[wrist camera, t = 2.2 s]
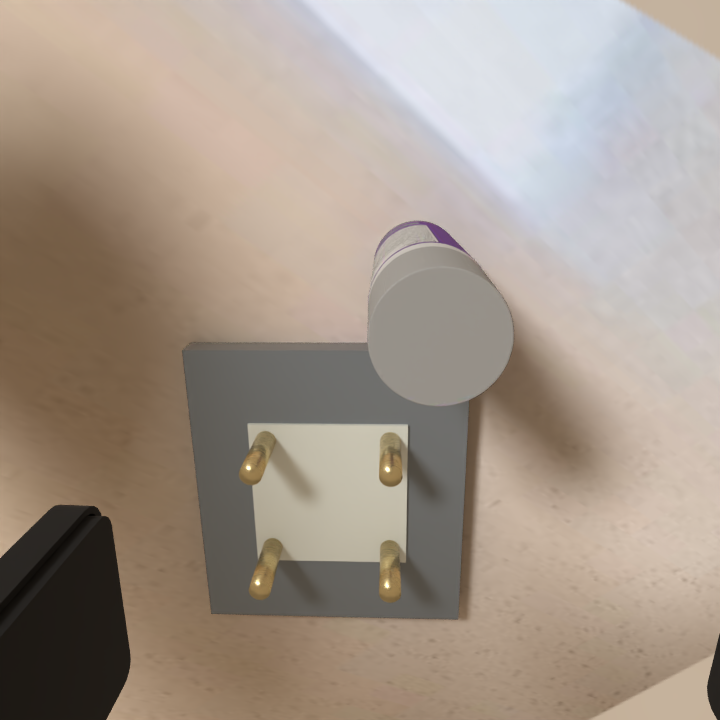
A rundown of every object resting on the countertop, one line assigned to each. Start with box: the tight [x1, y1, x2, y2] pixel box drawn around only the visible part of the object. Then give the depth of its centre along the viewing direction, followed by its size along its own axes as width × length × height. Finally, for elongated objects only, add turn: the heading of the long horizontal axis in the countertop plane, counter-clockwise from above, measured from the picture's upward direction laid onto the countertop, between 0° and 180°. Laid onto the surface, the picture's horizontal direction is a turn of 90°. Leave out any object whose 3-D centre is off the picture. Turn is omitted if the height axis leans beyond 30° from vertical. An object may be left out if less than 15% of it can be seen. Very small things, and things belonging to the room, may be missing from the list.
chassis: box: [182, 343, 469, 619], centre depth 35 cm, size 18×16×2 cm
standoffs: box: [239, 431, 403, 603], centre depth 33 cm, size 8×8×4 cm
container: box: [367, 221, 514, 407], centre depth 25 cm, size 5×5×15 cm
